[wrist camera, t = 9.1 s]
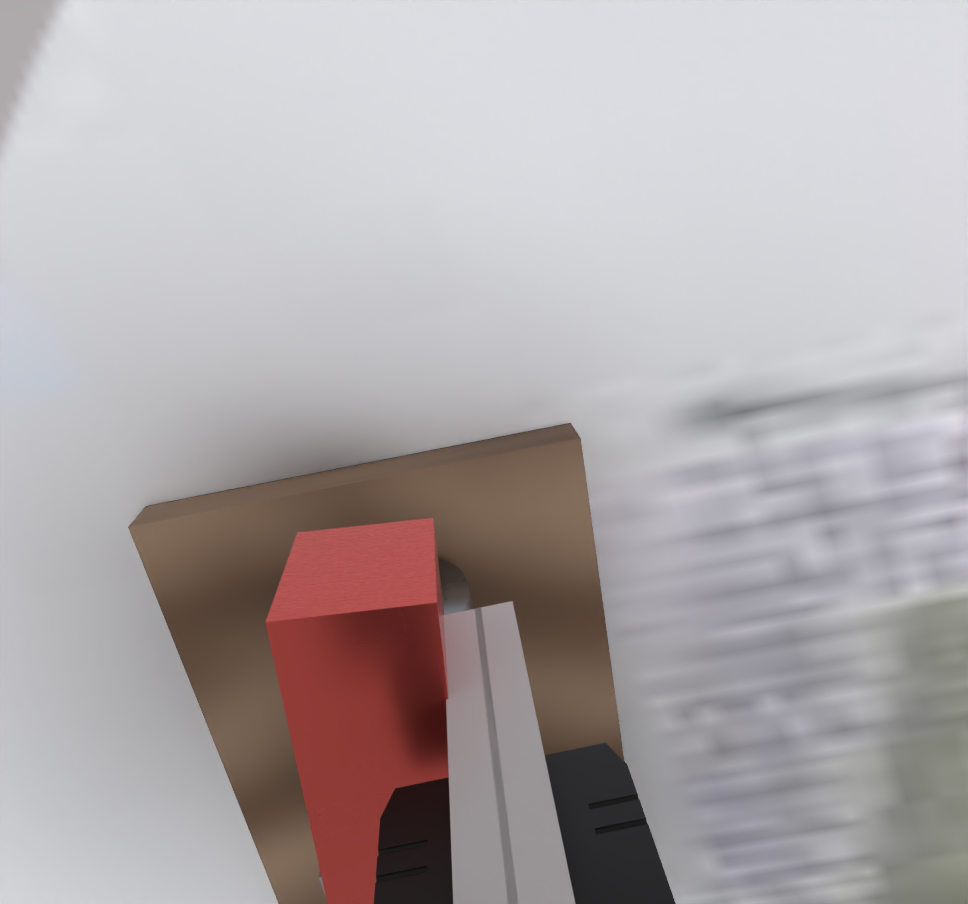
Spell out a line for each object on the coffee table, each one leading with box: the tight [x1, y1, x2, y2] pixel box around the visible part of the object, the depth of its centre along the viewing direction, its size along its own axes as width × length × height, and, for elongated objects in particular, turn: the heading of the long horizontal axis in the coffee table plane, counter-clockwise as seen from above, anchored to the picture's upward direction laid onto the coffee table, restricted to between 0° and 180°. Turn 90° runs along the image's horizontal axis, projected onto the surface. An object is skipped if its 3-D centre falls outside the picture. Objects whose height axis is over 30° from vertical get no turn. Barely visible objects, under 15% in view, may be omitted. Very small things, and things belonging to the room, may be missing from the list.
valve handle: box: [265, 518, 449, 904], centre depth 15 cm, size 4×16×3 cm, turn 4°
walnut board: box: [128, 423, 624, 904], centre depth 27 cm, size 24×14×2 cm, turn 10°
